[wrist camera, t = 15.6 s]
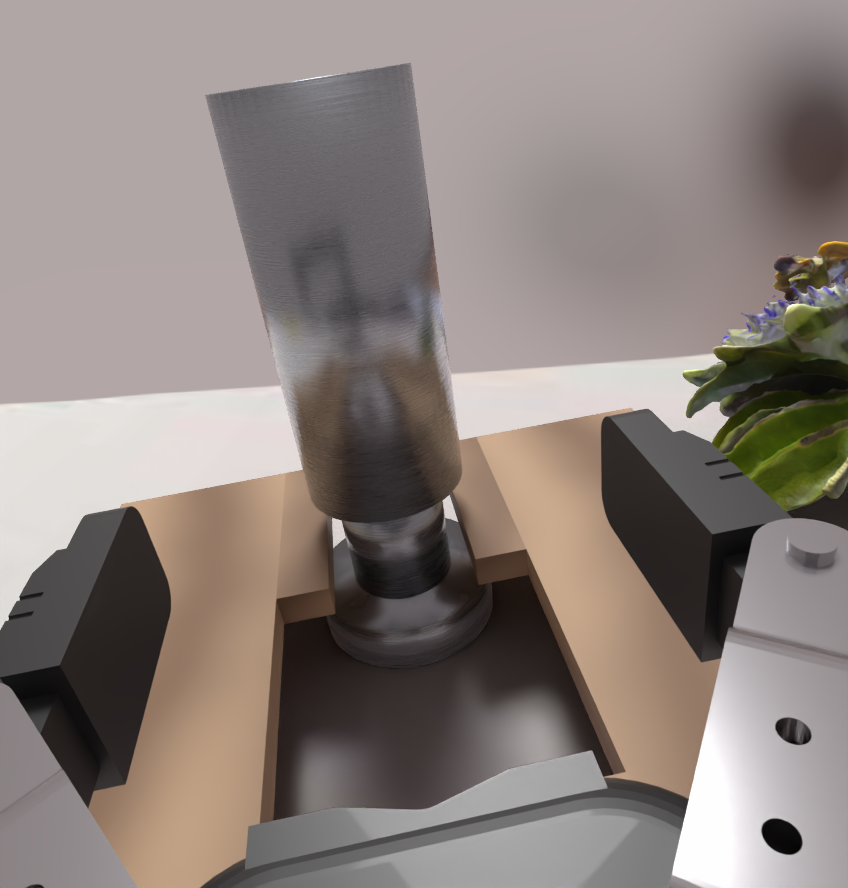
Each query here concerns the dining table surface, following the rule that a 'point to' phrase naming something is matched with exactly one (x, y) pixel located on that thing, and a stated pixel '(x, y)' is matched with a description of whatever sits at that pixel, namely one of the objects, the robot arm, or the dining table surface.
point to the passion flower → (787, 384)
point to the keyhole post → (359, 346)
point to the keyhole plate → (313, 595)
